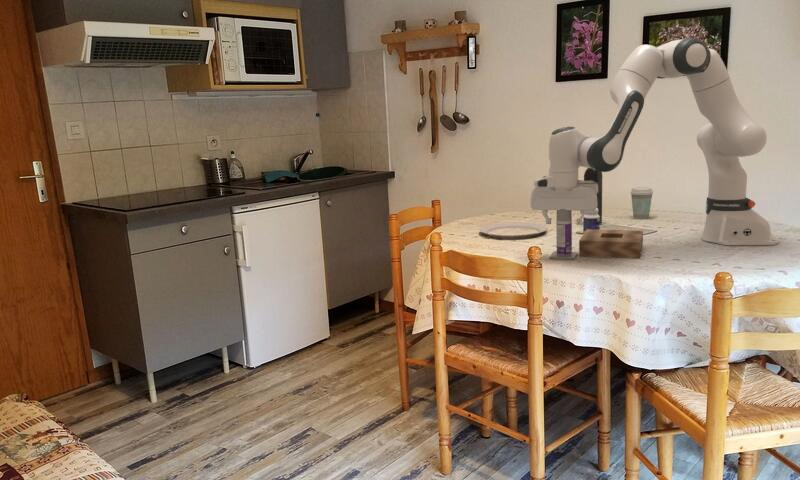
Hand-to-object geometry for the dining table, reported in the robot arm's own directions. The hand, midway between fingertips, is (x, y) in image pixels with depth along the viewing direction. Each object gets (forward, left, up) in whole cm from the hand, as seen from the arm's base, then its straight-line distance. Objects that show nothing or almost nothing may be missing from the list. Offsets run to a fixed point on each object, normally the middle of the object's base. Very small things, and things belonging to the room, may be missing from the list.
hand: (563, 224), depth 196 cm
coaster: (0, 0, -11) cm, 11 cm away
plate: (+25, -34, -11) cm, 43 cm away
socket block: (-13, -11, -11) cm, 20 cm away
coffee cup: (-19, -70, -11) cm, 73 cm away
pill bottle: (-4, -33, -11) cm, 35 cm away
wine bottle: (-2, -54, -11) cm, 55 cm away
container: (0, 0, -10) cm, 10 cm away
